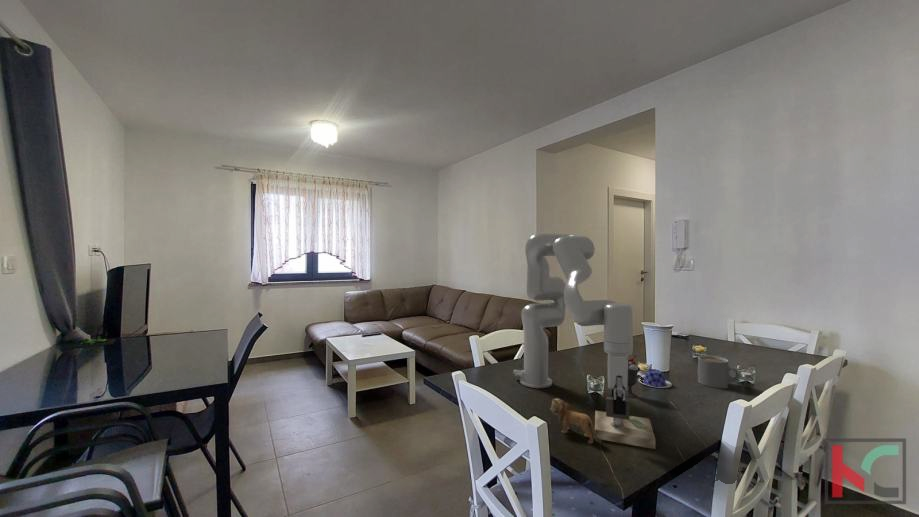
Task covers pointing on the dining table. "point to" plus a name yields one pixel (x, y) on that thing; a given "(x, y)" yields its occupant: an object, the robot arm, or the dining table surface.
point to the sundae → (632, 377)
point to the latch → (616, 417)
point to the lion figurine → (572, 418)
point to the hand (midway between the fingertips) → (618, 407)
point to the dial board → (625, 430)
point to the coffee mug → (715, 371)
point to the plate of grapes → (655, 379)
